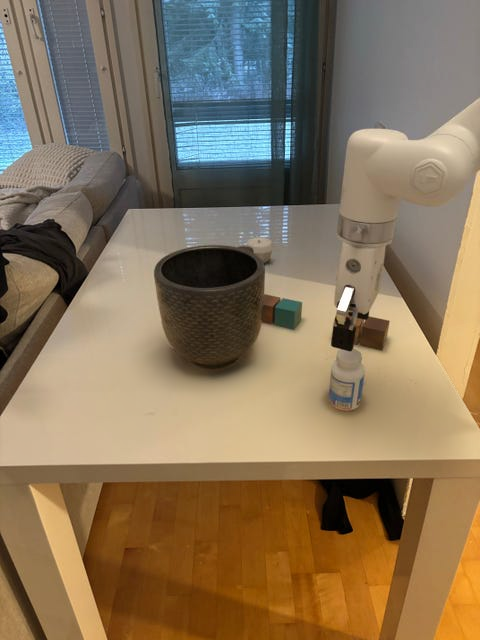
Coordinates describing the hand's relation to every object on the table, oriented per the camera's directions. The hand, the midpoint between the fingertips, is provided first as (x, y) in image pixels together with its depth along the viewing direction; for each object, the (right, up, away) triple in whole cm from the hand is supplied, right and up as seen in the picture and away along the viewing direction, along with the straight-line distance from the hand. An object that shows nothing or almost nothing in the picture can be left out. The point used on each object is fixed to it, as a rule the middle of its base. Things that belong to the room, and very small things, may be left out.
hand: (350, 332), depth 72 cm
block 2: (-7, +1, +29) cm, 30 cm away
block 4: (+10, -3, +22) cm, 24 cm away
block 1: (-11, +2, +31) cm, 33 cm away
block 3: (+5, -2, +24) cm, 25 cm away
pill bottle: (+1, -12, +7) cm, 14 cm away
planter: (-22, -5, +20) cm, 30 cm away
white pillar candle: (-12, +18, +57) cm, 61 cm away
